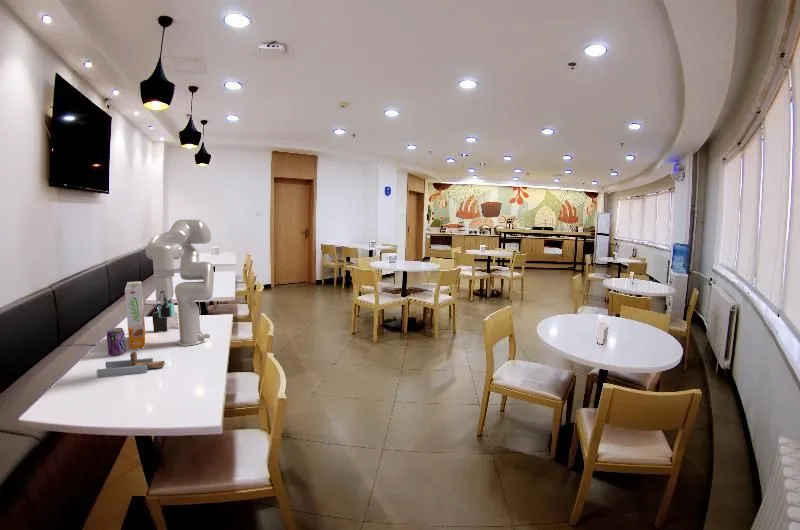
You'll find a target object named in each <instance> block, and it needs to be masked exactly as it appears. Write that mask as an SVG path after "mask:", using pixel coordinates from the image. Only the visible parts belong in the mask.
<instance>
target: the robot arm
mask: <svg viewBox="0 0 800 530" xmlns="http://www.w3.org/2000/svg"><path fill="white" fill-rule="evenodd" d="M211 239H212V233H211V230H210V228H209V227H208V225H206V222H204V221H203V220H202V219H179V220H176V221H175V222H174V223H173V224H172V226H171V227H170V229H169V231H166V232H163V233H160V234H158V235H155V236H154V237H152V238H151V239H150V240H149V242H148V243H147V245H146V247H145V248H146V249H145V255H146V257H147V258H148V259H149V260H151V261H152V265H153V276H154V279H155V301H156V302H159V303H160V304H159V305H160V309H161V317H167V318H170V317H169V316H170V312H169V307H168V303H173V299H172V298H173V297H174V294H175V299H176V304H177V312H178V330H179V339H178V340H177V341H176V344H177V345H178V346H180V347H191V346H195V345H196V344H197V345H200V344H202V343H204V342H205V339H210V337H211V335H210V334H209V333H203V331H201V321H200V320H201V319H200V307H199V306H198V304H197V303H196V302H195V301H209V300H211V299H212V297H213V295H214V293H213V292H214V280H215V278H214V277H215V275H214V274H215V271H214V265H213V264H212V263H211V262H209V261H200V253H199V251H198V250H197V249H196V247H194V246H193V245H198V244H201V245H202V244H203V245H204V244H205V245H206V244H208V243H210V242H211ZM179 259H180V263H179V264H180V265H179V266H180V267H179V276H180V278H181V279H182V280H184V281H182V282H178V283H177V284H176V285H175V287H174V282H173V281H174V280H173V278H174V277H175V266H174V261H175V260H179ZM190 345H191V346H190Z"/></svg>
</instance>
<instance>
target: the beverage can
mask: <svg viewBox="0 0 800 530" xmlns="http://www.w3.org/2000/svg"><path fill="white" fill-rule="evenodd" d="M106 331H107V332H106V343H107V355H109V356H112V357H116V356H117V355H118V356H121V354H122V355H123V354H125V353H127V348H126V347H127V345H126V336H125V335H126V334H125V331H124V329H123V327H114V328H113V327H112V328H110V329H108V330H106ZM118 356H117V357H118Z"/></svg>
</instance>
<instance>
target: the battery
mask: <svg viewBox="0 0 800 530" xmlns="http://www.w3.org/2000/svg"><path fill="white" fill-rule="evenodd" d="M151 316H152V317H151V318H152V326H153V332H154V333H160V332H159V331H163V332H167V331H168V317H165V318H159V313H158V311H157V310H156V311H154V312H152V315H151Z"/></svg>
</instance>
